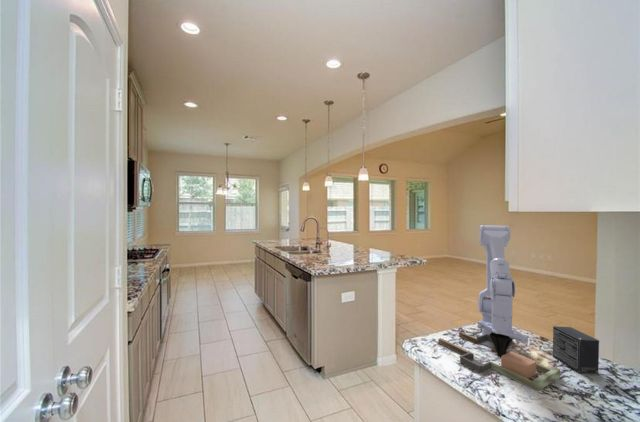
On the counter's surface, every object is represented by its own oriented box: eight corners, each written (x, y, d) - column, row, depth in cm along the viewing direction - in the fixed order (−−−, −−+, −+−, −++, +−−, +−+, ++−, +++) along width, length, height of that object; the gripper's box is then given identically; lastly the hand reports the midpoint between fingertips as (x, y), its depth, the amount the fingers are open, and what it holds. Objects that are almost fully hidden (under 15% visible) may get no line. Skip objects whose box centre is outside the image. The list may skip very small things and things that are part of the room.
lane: (461, 335, 113) (461, 329, 113) (560, 377, 85) (560, 369, 85) (438, 342, 106) (438, 336, 106) (537, 391, 78) (537, 382, 78)
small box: (600, 374, 87) (601, 340, 87) (579, 373, 87) (579, 339, 87) (570, 356, 97) (571, 326, 97) (551, 356, 98) (551, 325, 97)
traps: (485, 339, 110) (485, 333, 110) (523, 354, 98) (523, 348, 98) (443, 354, 98) (443, 348, 98) (480, 373, 86) (480, 366, 86)
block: (511, 363, 93) (511, 351, 93) (536, 374, 87) (536, 361, 87) (501, 368, 90) (501, 355, 90) (526, 380, 84) (526, 366, 84)
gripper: (473, 310, 97) (472, 349, 97) (519, 325, 85) (519, 370, 85) (485, 306, 101) (484, 345, 101) (531, 321, 88) (531, 364, 88)
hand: (501, 356), depth 93 cm, fingers closed
